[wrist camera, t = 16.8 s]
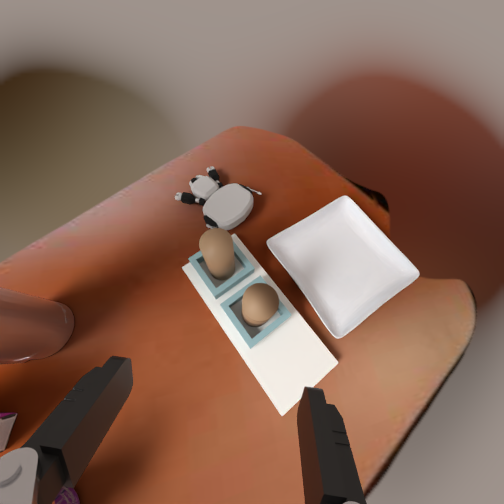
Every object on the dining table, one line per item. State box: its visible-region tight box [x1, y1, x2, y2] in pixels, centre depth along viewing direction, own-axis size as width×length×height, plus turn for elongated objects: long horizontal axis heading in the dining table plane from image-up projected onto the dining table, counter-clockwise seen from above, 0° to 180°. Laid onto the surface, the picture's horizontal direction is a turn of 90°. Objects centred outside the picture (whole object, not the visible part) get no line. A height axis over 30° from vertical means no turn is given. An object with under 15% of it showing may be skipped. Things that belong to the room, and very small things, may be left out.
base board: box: [182, 228, 338, 416], centre depth 36 cm, size 12×29×12 cm, turn 37°
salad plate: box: [267, 196, 419, 338], centre depth 45 cm, size 21×21×3 cm
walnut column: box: [242, 283, 279, 327], centre depth 35 cm, size 5×5×11 cm
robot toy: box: [175, 166, 262, 230], centre depth 49 cm, size 12×4×15 cm
